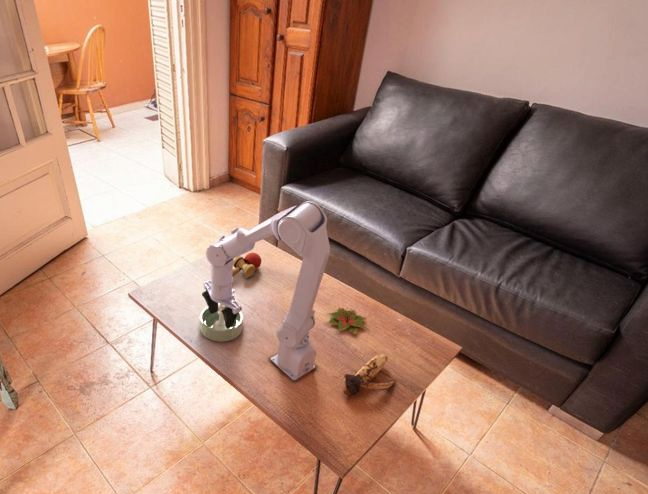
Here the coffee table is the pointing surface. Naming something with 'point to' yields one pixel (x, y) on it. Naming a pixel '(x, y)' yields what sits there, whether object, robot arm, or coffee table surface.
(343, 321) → the succulent plant
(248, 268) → the kendama
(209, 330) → the bowl
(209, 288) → the robot arm
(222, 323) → the chess piece
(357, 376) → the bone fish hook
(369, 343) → the coffee table surface
